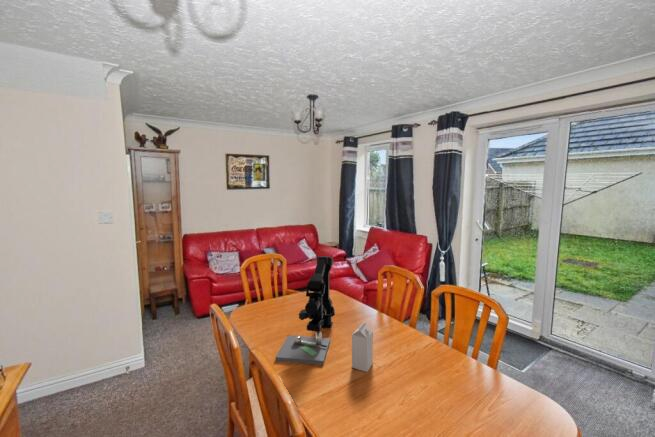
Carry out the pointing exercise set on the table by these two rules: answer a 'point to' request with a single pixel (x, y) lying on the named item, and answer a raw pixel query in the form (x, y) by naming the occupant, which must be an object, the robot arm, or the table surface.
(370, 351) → the milk carton
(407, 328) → the table surface
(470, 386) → the table surface
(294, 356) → the board
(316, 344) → the lever
